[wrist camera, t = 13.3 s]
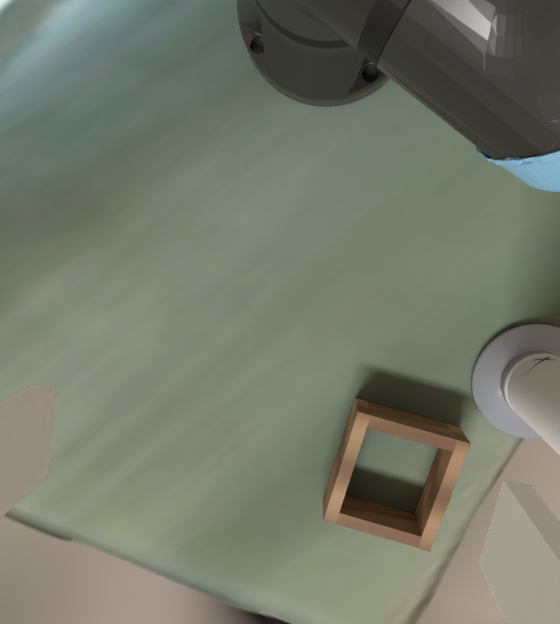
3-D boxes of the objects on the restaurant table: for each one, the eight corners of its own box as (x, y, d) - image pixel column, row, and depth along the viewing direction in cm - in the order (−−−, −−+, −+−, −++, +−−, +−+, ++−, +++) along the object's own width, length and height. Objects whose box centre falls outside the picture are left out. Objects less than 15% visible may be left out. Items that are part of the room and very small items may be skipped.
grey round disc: (494, 309, 43) (496, 310, 42) (613, 341, 42) (617, 343, 42) (455, 417, 45) (456, 420, 44) (567, 449, 45) (570, 452, 44)
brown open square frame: (355, 397, 45) (357, 411, 42) (459, 427, 45) (470, 443, 42) (323, 498, 48) (323, 520, 44) (422, 527, 47) (429, 551, 44)
